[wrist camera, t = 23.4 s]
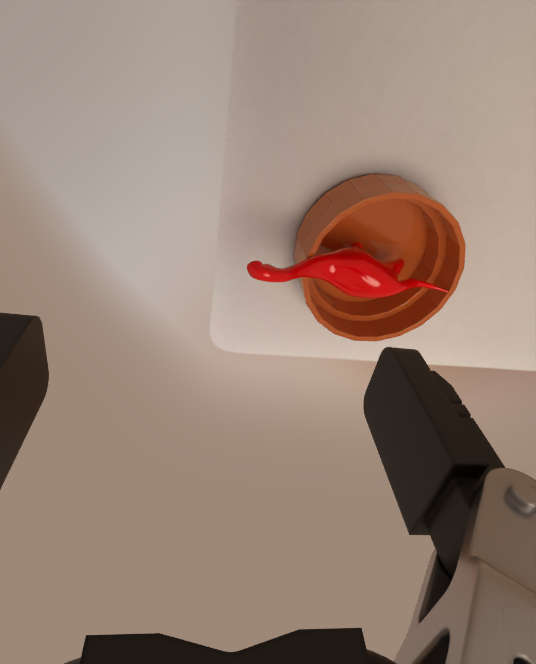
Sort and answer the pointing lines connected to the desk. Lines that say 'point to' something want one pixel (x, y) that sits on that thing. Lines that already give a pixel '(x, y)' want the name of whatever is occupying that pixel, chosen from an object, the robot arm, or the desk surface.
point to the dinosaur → (345, 273)
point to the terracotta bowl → (382, 254)
